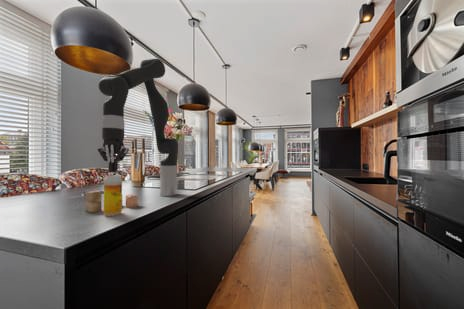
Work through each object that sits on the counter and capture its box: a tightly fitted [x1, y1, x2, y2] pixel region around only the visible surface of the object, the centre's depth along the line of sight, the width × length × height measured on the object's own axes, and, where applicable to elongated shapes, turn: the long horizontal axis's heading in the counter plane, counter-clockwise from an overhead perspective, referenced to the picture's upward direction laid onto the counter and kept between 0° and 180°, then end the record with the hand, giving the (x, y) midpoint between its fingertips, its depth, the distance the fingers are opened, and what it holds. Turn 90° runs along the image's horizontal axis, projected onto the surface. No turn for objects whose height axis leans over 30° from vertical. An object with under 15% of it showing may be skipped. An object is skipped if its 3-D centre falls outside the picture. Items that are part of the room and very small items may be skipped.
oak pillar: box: [84, 190, 103, 213], centre depth 85 cm, size 4×4×8 cm
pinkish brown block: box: [125, 193, 139, 209], centre depth 93 cm, size 5×5×5 cm
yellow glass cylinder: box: [103, 174, 123, 217], centre depth 80 cm, size 6×6×15 cm
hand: (113, 172), depth 80 cm, fingers closed
